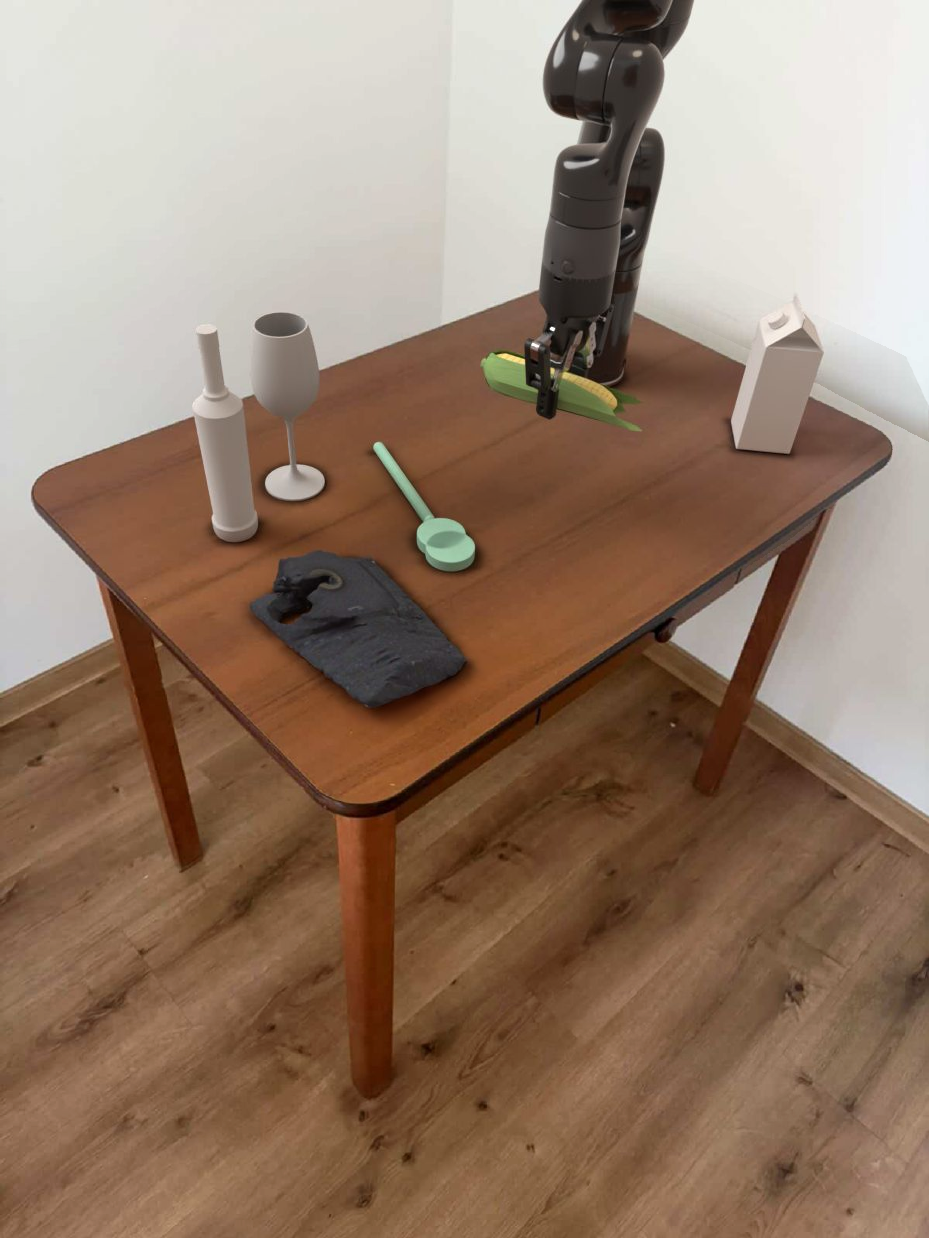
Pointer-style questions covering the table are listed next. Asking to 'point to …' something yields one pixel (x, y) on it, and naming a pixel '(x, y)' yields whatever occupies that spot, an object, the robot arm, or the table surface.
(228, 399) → the bottle
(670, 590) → the table surface
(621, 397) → the edible corn
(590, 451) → the table surface
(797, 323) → the milk carton
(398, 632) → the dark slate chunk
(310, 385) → the wineglass
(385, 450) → the spoon
